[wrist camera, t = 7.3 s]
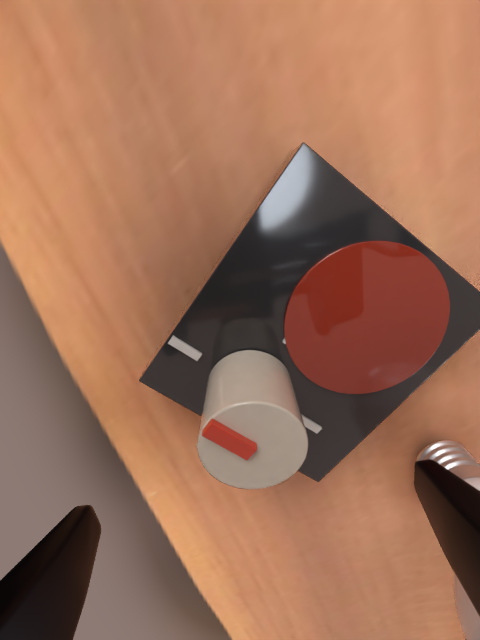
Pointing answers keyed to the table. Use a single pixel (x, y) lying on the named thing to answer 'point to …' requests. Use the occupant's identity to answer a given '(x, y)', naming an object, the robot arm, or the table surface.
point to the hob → (273, 295)
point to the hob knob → (251, 422)
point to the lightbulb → (467, 468)
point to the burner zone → (366, 317)
